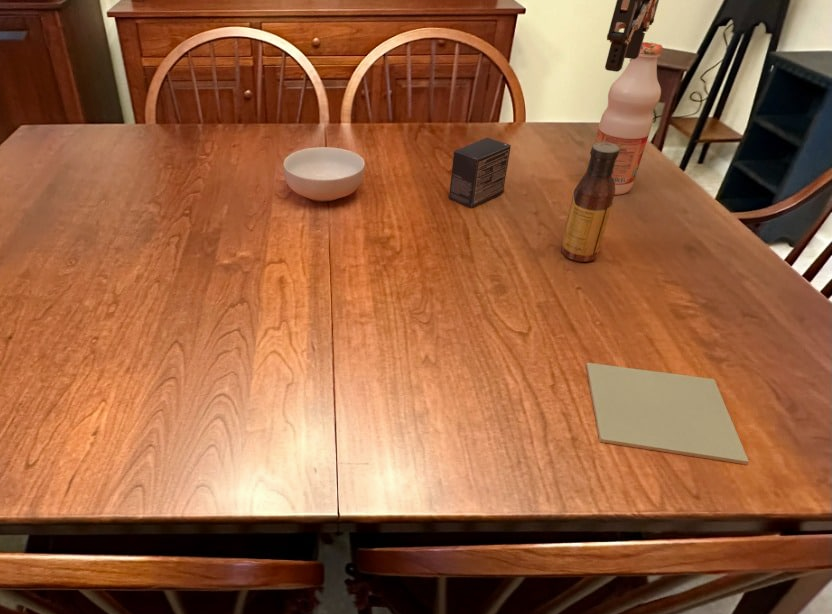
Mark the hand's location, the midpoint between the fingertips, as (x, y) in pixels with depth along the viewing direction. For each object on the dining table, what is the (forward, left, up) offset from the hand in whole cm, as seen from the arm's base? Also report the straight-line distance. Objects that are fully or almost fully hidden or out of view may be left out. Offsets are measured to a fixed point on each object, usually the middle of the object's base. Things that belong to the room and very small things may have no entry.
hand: (621, 64), depth 92 cm
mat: (-6, +42, -31) cm, 52 cm away
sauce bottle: (0, +5, -31) cm, 31 cm away
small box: (+18, -15, -31) cm, 39 cm away
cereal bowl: (+49, -10, -31) cm, 59 cm away
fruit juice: (-9, -25, -31) cm, 41 cm away
